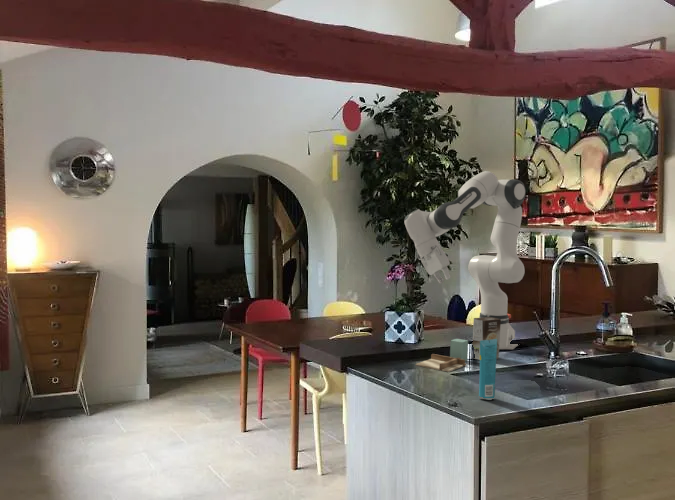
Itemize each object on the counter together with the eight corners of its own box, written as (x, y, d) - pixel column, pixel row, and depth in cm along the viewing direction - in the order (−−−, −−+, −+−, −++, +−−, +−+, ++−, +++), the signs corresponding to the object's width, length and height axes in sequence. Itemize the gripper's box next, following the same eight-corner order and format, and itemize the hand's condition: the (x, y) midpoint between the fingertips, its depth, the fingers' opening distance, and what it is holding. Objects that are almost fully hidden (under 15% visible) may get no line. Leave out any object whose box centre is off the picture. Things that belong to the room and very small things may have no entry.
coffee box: (482, 361, 280) (484, 320, 279) (471, 357, 285) (472, 318, 284) (499, 358, 285) (501, 318, 284) (487, 355, 291) (489, 316, 289)
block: (456, 358, 284) (456, 338, 283) (467, 360, 281) (468, 340, 280) (449, 360, 280) (450, 340, 279) (461, 362, 277) (462, 342, 276)
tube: (487, 395, 233) (490, 337, 231) (499, 398, 229) (502, 339, 227) (472, 399, 228) (475, 339, 226) (484, 402, 224) (487, 342, 223)
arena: (434, 359, 281) (434, 353, 281) (466, 365, 273) (466, 359, 273) (415, 365, 270) (415, 359, 270) (448, 372, 262) (448, 365, 262)
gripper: (443, 240, 271) (460, 273, 270) (429, 250, 291) (445, 281, 290) (428, 247, 270) (445, 280, 268) (416, 257, 290) (431, 287, 288)
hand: (445, 280), depth 279 cm, fingers open, 8 cm apart
